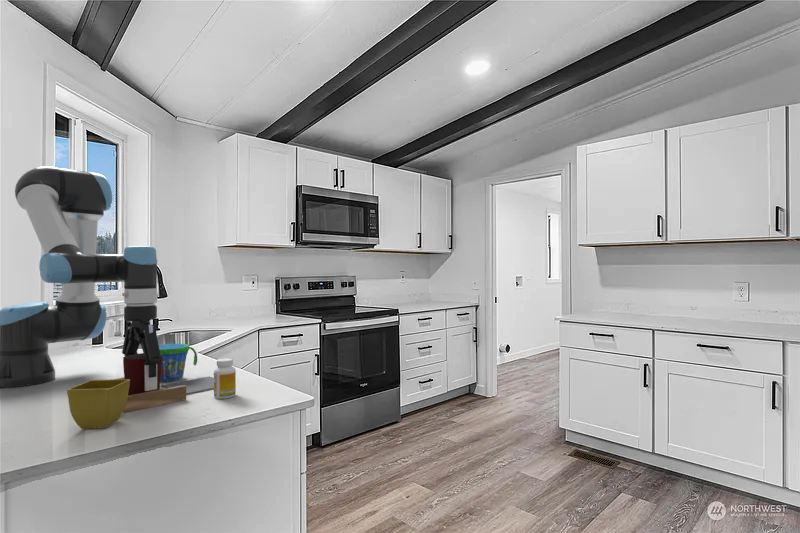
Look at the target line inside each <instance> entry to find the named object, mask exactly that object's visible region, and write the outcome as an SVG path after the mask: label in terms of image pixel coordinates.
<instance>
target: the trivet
mask: <svg viewBox="0 0 800 533" xmlns="http://www.w3.org/2000/svg"><path fill="white" fill-rule="evenodd" d="M182 385H186V396H187V395H192V394H197V393H202V392H206V391H207V392H208V391H211V390H214V376H210V375H209V376H205V377H198V378H194V379H188V380H182V381H177V382H171V383H166V384H161V387H162V388H163V389H166V388H171V387H177V386H182Z"/></svg>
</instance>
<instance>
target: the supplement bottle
mask: <svg viewBox="0 0 800 533" xmlns="http://www.w3.org/2000/svg"><path fill="white" fill-rule="evenodd" d="M233 365H234V359H232V358H227V357H226V358H219V359H217V360H216V368H214V370H213V378H214V389H213V398H214V399H219V400H224V399H231V398H233V397H235V396H236V394H237V390H236V385H237V384H236V373H237V372H236V368H235V367H234V366H233Z"/></svg>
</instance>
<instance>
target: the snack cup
mask: <svg viewBox="0 0 800 533" xmlns="http://www.w3.org/2000/svg"><path fill="white" fill-rule="evenodd" d="M158 345H159V350H160V354H162V367H161V379H160V382H166V383H167V382H174V381H179V380H181V379H182V378H183V377H184V374H185V367H186V361H187V355H188V353H189V350H192V351H193V353H194V356H193V366H197V363H198V353H197V351H196V349H195V348H193V347H192V346H190V345H189V344H186V343H166V344H165V343H164V344H163V343H162V344H158Z"/></svg>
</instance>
